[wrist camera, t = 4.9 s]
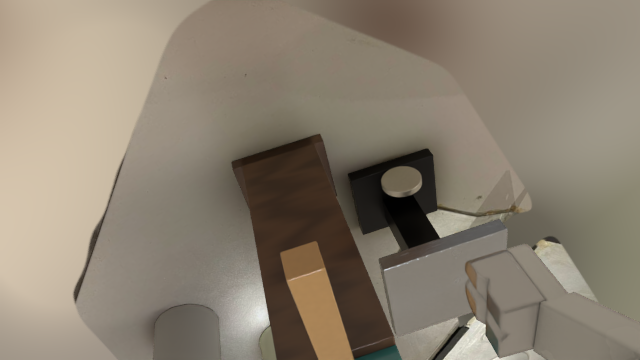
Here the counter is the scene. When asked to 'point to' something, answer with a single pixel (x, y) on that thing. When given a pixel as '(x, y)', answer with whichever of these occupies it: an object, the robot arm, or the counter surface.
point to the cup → (187, 334)
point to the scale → (419, 242)
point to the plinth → (301, 228)
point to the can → (267, 345)
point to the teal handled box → (321, 306)
